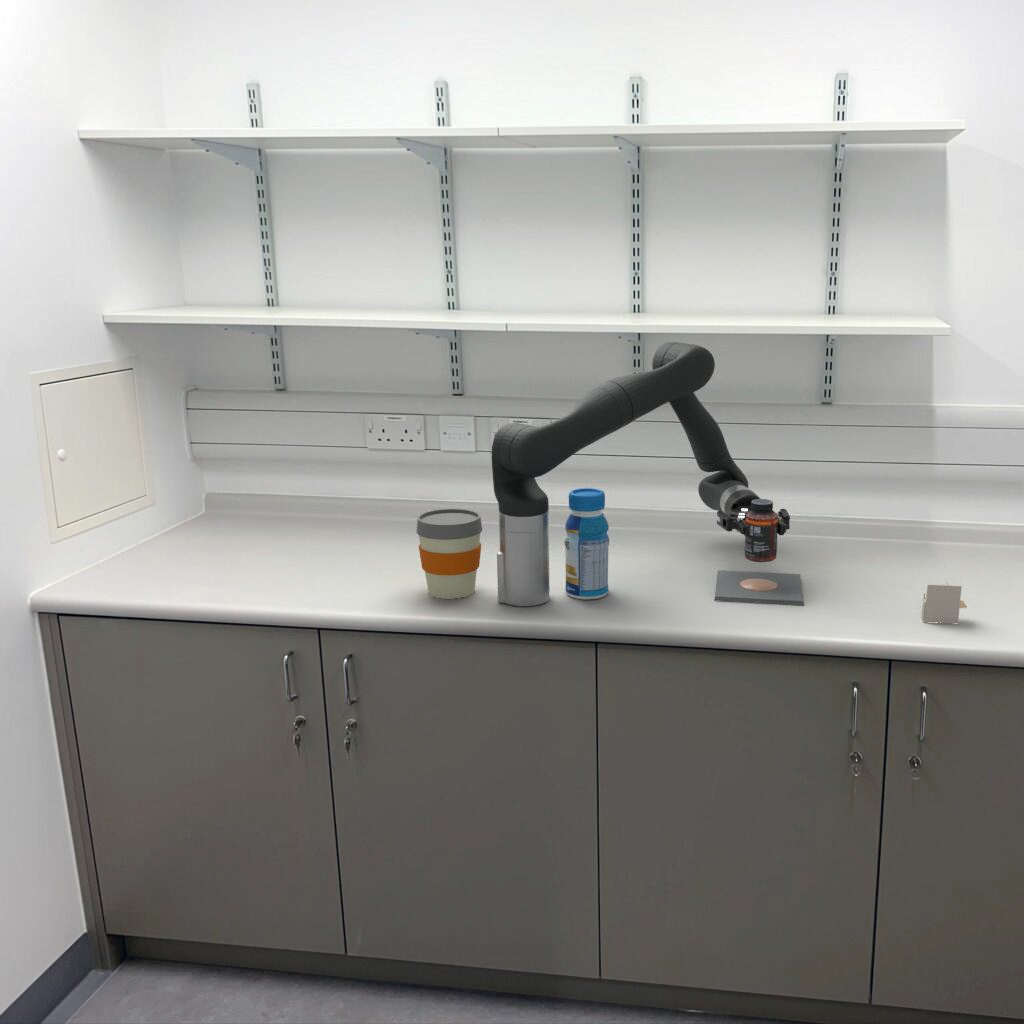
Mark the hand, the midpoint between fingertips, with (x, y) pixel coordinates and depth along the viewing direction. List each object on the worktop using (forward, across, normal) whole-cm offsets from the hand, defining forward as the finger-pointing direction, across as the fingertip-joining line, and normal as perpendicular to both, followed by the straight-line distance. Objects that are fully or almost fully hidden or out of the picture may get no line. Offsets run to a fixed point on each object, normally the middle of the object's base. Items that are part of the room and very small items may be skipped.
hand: (765, 530), depth 196 cm
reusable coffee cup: (-7, -59, +12) cm, 61 cm away
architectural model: (+18, +26, +13) cm, 34 cm away
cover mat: (-2, 0, +12) cm, 12 cm away
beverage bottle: (-3, -33, +12) cm, 35 cm away
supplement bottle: (-2, 0, +6) cm, 7 cm away
